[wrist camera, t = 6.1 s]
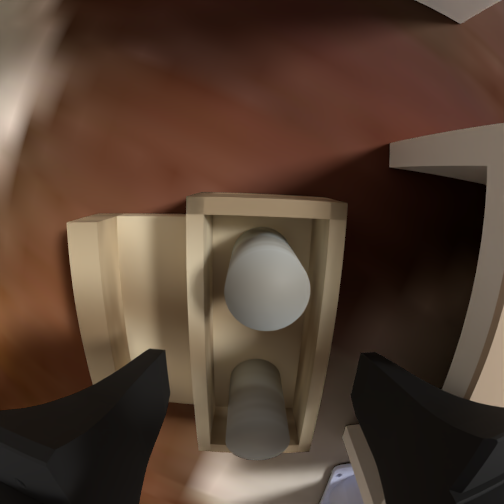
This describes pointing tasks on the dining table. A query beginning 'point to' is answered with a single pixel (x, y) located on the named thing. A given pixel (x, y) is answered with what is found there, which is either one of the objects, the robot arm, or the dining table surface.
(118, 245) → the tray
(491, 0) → the gable box
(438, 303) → the dining table surface
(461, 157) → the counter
